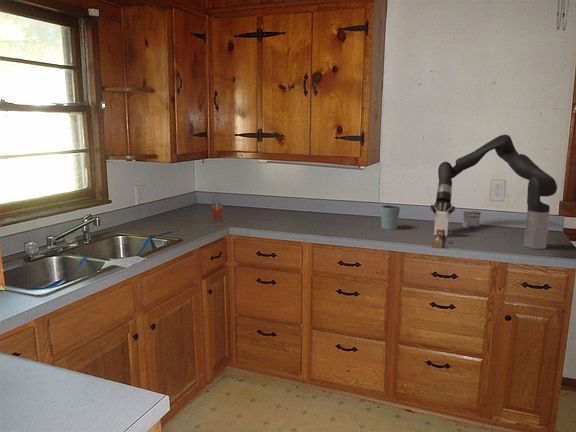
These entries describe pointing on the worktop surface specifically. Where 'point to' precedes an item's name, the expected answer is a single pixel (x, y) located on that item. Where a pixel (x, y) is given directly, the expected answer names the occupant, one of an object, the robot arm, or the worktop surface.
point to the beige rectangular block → (441, 222)
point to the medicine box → (471, 219)
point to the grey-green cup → (390, 216)
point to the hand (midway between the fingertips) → (441, 221)
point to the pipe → (439, 239)
